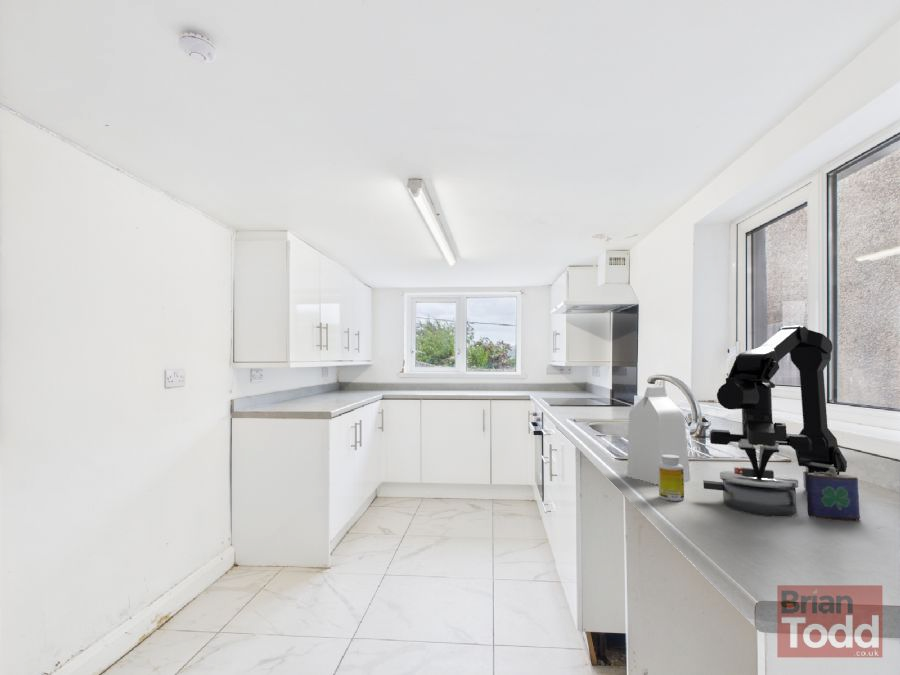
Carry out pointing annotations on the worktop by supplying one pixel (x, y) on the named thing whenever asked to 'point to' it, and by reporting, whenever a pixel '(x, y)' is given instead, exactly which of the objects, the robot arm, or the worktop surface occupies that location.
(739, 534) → the worktop surface
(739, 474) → the cooker lid
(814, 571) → the worktop surface
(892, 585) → the worktop surface
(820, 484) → the flask
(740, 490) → the cooker pot
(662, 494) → the supplement bottle
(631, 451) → the milk
